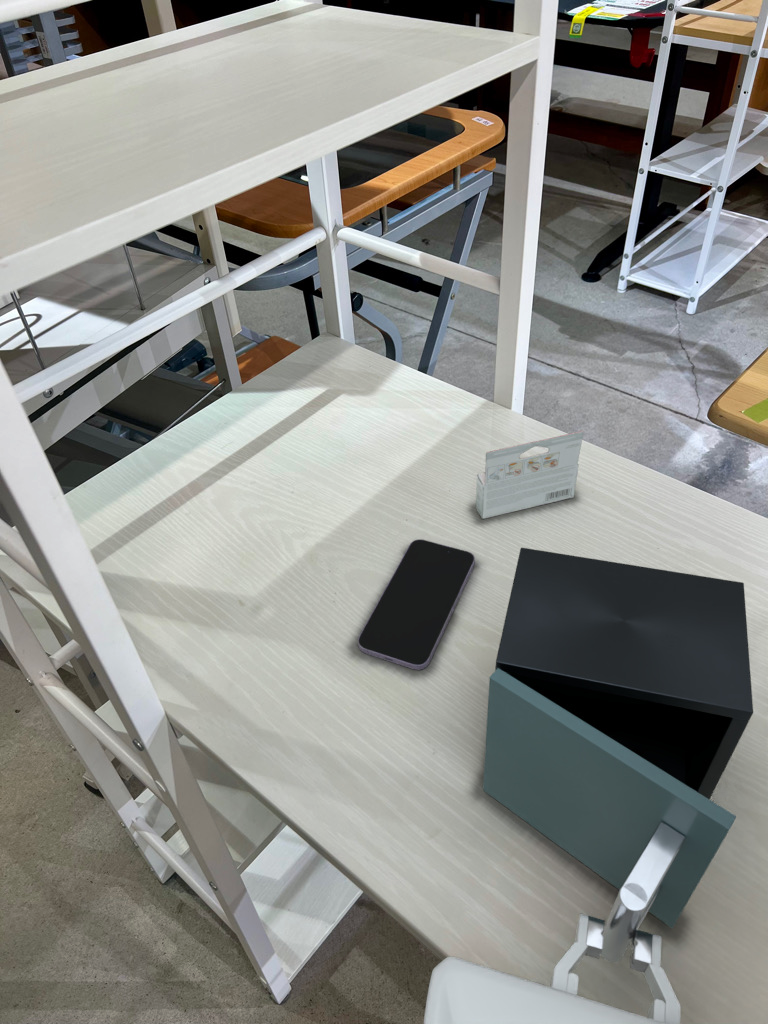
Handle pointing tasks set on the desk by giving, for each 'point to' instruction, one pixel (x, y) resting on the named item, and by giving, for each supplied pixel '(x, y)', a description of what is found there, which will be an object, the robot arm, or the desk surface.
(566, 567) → the black cabinet
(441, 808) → the desk surface
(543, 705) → the door
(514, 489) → the ink box
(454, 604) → the smartphone
